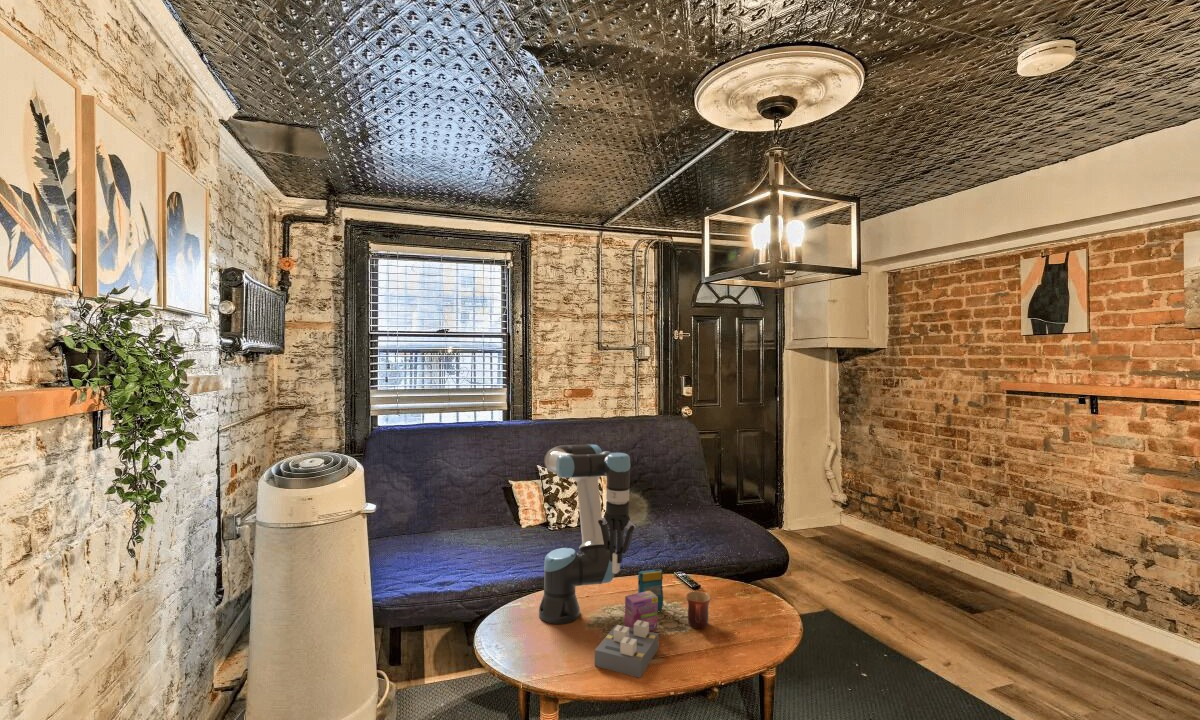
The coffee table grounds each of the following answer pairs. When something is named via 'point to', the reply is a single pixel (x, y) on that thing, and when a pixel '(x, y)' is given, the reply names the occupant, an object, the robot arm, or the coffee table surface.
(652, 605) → the box
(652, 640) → the switch unit
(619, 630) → the slider
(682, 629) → the coffee table surface
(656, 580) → the teal carton
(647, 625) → the slider
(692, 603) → the mug
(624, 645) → the slider
